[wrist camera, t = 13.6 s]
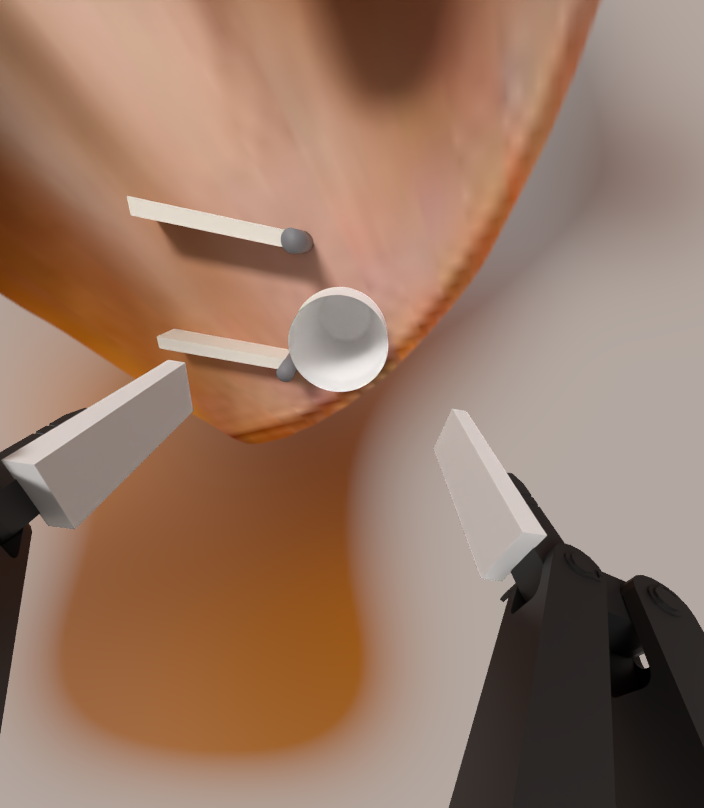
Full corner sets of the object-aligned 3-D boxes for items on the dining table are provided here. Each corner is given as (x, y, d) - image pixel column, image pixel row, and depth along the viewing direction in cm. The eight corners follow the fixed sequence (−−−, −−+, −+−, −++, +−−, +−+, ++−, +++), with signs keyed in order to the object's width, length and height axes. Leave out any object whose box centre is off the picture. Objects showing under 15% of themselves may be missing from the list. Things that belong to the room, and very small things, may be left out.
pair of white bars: (176, 341, 35) (145, 357, 30) (151, 198, 27) (103, 187, 22) (302, 363, 36) (292, 383, 31) (313, 233, 28) (303, 230, 23)
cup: (296, 295, 32) (265, 320, 21) (365, 262, 30) (367, 271, 19) (329, 359, 36) (316, 405, 26) (391, 334, 34) (404, 373, 24)
